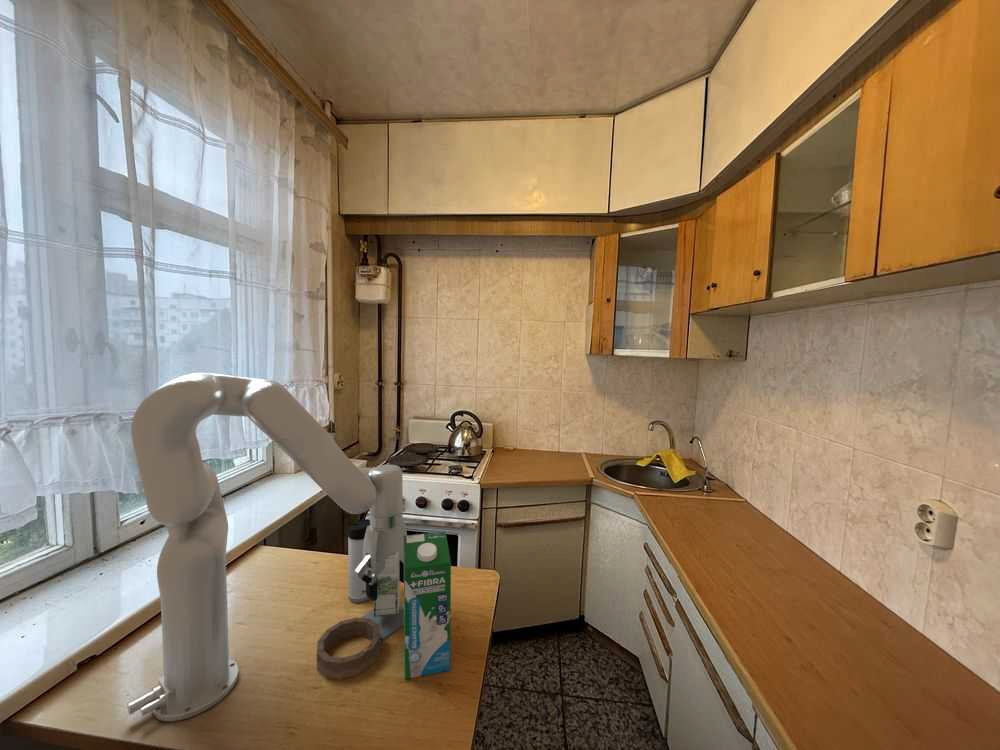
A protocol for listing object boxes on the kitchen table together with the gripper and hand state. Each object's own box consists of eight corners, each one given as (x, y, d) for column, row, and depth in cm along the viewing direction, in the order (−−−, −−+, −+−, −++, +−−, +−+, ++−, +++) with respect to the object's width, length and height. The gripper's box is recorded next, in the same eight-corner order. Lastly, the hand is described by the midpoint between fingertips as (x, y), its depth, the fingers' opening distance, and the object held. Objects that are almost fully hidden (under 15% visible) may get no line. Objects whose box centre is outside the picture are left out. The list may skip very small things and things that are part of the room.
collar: (338, 690, 71) (338, 671, 71) (305, 658, 78) (305, 641, 78) (392, 649, 81) (392, 632, 81) (358, 624, 88) (358, 609, 88)
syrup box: (400, 599, 94) (400, 543, 93) (398, 615, 88) (398, 555, 87) (376, 601, 93) (376, 545, 92) (372, 618, 87) (372, 558, 86)
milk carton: (404, 680, 73) (404, 556, 72) (403, 645, 82) (403, 535, 81) (450, 670, 76) (451, 550, 75) (445, 637, 84) (445, 530, 83)
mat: (382, 640, 83) (382, 639, 83) (356, 621, 89) (356, 620, 89) (416, 615, 91) (416, 614, 91) (390, 599, 97) (390, 598, 97)
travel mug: (370, 603, 96) (369, 527, 95) (344, 603, 96) (343, 527, 95) (378, 588, 102) (378, 517, 101) (354, 588, 102) (354, 516, 101)
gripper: (405, 502, 98) (405, 567, 99) (343, 526, 84) (344, 602, 85) (424, 509, 94) (424, 577, 95) (363, 536, 80) (364, 615, 81)
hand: (386, 588), depth 90 cm, fingers closed on syrup box, 7 cm apart
